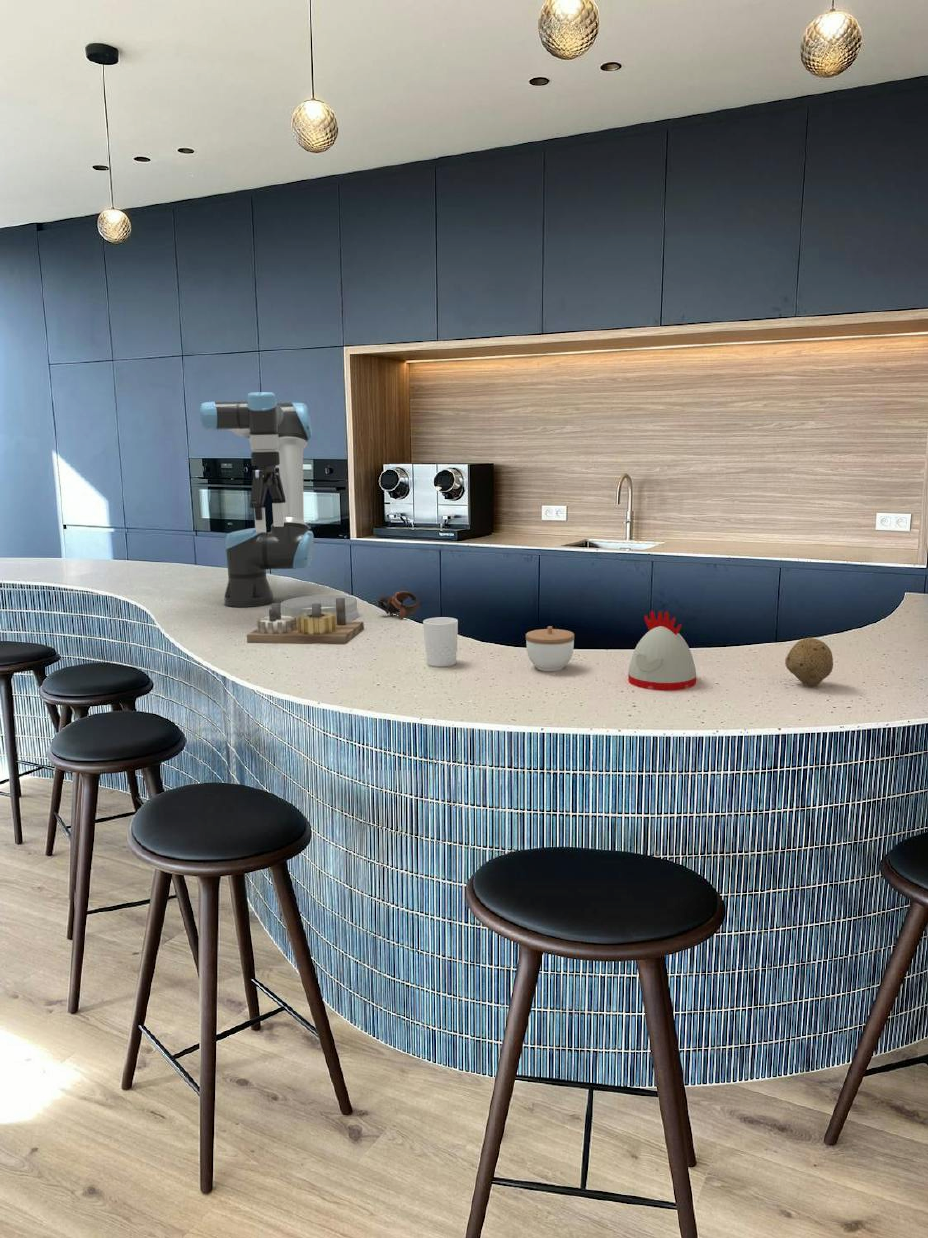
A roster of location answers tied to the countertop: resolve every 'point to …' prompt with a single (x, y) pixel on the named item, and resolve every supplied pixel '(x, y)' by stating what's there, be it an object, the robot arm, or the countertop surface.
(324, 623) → the brass gear
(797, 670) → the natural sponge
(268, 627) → the gear board
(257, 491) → the robot arm
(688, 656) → the kitchen timer
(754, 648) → the countertop surface
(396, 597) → the brown curved piece
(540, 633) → the lidded jar
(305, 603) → the dish
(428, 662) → the white cup
